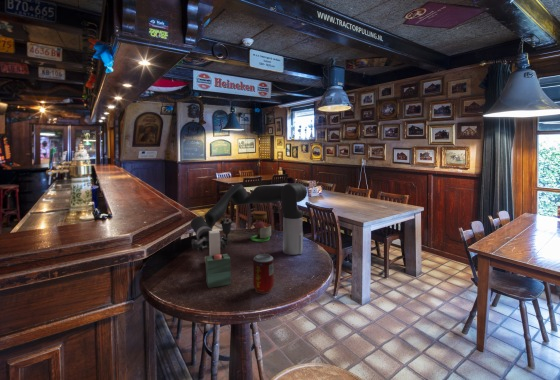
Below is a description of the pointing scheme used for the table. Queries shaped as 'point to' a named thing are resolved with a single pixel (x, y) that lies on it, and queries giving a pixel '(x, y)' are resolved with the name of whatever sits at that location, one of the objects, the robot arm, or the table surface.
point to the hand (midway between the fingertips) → (212, 247)
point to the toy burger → (261, 227)
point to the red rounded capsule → (217, 256)
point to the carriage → (214, 242)
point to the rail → (218, 271)
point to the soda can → (263, 273)
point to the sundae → (226, 226)
